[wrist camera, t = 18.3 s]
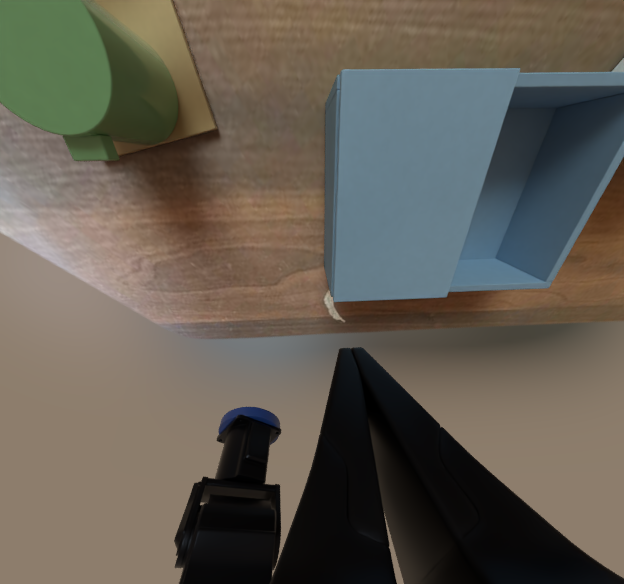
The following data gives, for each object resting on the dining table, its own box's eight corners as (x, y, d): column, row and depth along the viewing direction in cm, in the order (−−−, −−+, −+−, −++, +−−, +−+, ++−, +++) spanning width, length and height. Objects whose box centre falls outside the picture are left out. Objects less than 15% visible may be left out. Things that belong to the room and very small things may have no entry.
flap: (332, 299, 15) (333, 302, 14) (340, 72, 9) (341, 69, 9) (443, 294, 15) (446, 297, 14) (513, 70, 9) (520, 68, 9)
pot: (193, 161, 15) (142, 159, 10) (112, 163, 15) (20, 161, 10) (154, 0, 11) (47, -123, 6) (47, -1, 11) (-143, -125, 6)
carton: (324, 267, 19) (331, 297, 15) (325, 102, 14) (337, 74, 10) (494, 261, 20) (549, 288, 15) (560, 99, 14) (673, 71, 10)
